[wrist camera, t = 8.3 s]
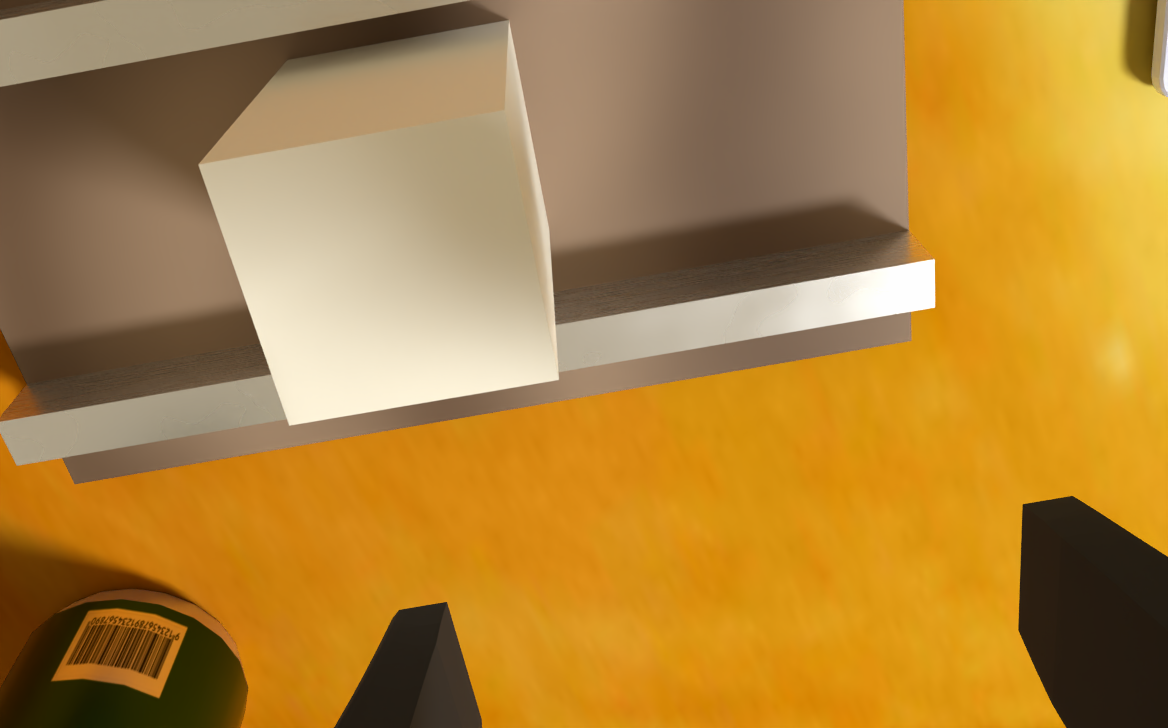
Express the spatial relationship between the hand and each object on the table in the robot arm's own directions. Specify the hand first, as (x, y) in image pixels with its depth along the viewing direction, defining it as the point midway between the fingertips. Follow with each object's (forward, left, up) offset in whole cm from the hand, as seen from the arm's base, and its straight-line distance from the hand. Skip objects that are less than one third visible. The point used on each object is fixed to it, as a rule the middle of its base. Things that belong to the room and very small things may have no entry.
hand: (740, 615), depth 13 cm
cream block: (+4, -4, -9) cm, 11 cm away
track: (+4, -4, -10) cm, 12 cm away
